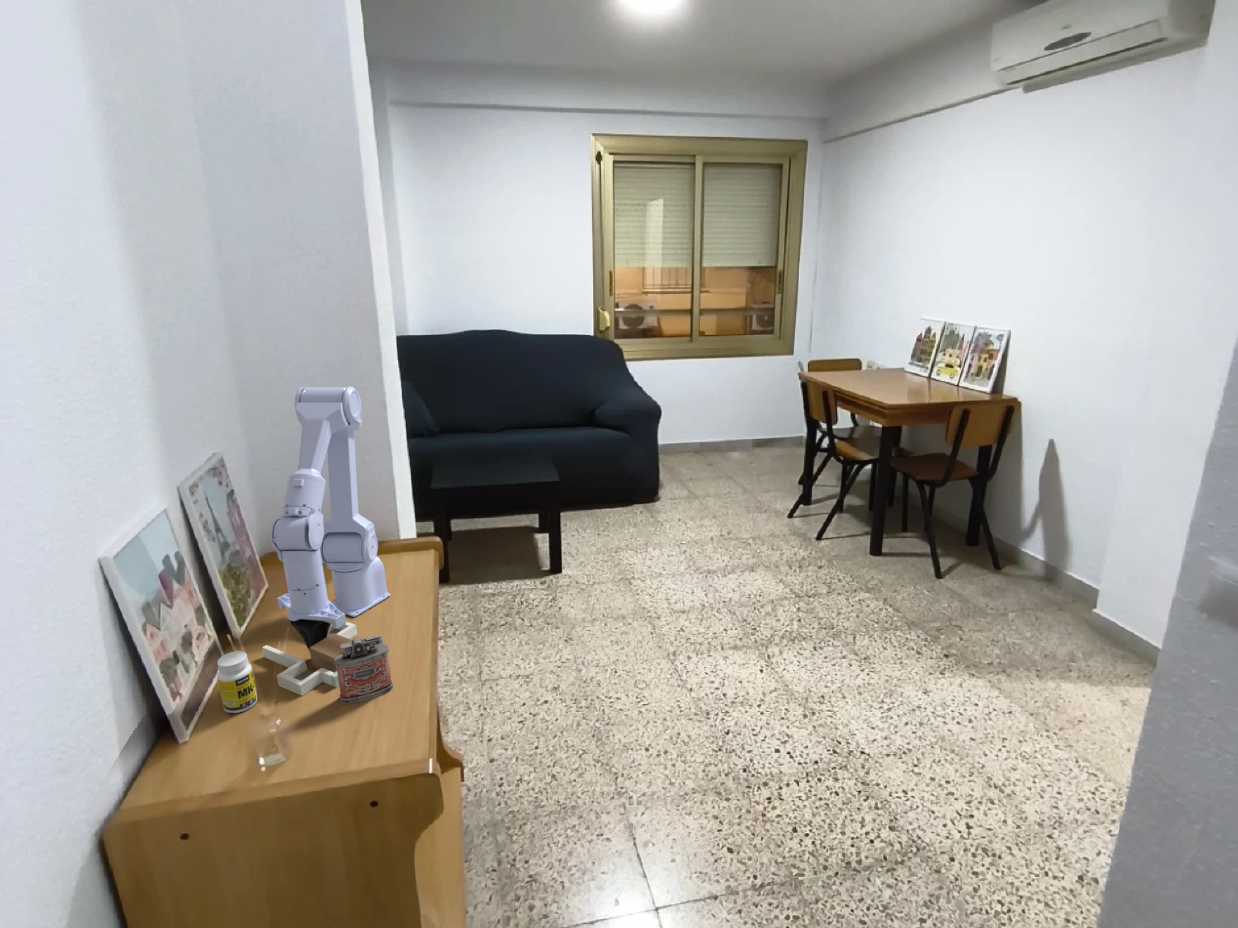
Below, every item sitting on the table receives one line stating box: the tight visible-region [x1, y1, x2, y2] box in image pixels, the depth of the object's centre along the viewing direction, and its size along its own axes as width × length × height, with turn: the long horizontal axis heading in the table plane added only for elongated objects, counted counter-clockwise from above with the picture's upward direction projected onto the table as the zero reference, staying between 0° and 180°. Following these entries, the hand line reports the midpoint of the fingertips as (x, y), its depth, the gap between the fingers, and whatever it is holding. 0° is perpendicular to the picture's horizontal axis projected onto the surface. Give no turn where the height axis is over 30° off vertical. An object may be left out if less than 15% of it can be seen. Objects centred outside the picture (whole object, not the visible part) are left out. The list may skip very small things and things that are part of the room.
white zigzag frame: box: [262, 621, 358, 697], centre depth 116 cm, size 17×18×2 cm
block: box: [309, 633, 353, 673], centre depth 114 cm, size 5×6×4 cm
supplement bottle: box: [216, 650, 257, 714], centre depth 104 cm, size 5×5×8 cm
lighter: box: [334, 633, 394, 705], centre depth 106 cm, size 8×3×10 cm, turn 118°
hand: (318, 651), depth 116 cm, fingers closed
